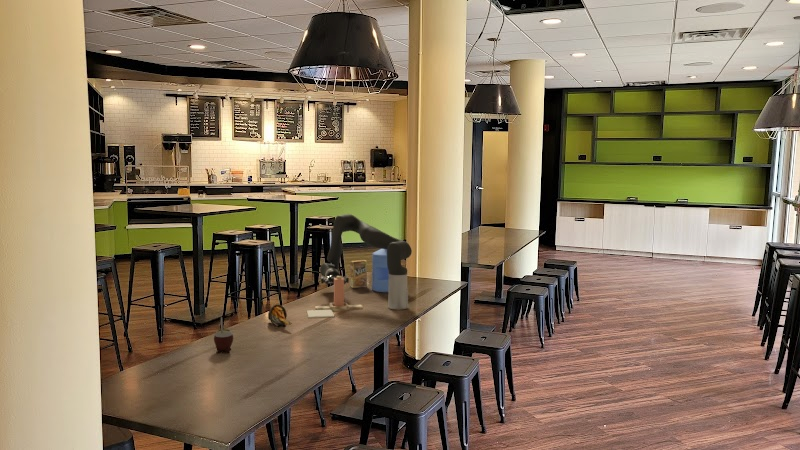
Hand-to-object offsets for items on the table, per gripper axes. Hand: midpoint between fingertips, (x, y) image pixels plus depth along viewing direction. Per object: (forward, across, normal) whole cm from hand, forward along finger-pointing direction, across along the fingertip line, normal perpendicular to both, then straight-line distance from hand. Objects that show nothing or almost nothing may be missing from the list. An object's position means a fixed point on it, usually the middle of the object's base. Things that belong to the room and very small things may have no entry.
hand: (336, 282), depth 320 cm
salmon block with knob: (+12, 0, +11) cm, 16 cm away
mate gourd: (+72, -51, +10) cm, 89 cm away
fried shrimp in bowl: (+38, -29, +11) cm, 49 cm away
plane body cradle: (+12, 0, +11) cm, 16 cm away
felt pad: (+22, -10, +10) cm, 26 cm away
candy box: (-38, +17, +11) cm, 43 cm away
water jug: (-28, +31, +11) cm, 43 cm away
